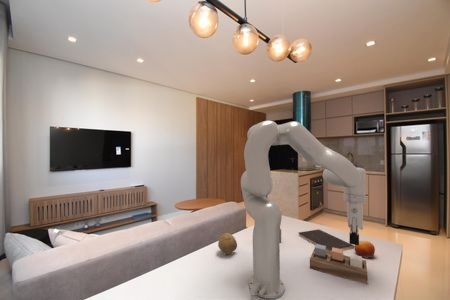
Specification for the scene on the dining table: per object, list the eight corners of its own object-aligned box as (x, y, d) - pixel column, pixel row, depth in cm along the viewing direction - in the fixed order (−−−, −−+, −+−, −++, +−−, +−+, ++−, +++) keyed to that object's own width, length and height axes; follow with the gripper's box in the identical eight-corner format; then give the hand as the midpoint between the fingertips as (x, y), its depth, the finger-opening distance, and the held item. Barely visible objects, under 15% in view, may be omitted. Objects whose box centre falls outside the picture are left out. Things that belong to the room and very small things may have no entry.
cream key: (362, 268, 78) (362, 260, 78) (350, 265, 80) (350, 258, 80) (361, 264, 82) (361, 256, 82) (350, 261, 84) (350, 253, 84)
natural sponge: (213, 253, 98) (213, 233, 98) (227, 247, 104) (227, 228, 104) (226, 261, 91) (226, 238, 91) (240, 254, 97) (240, 233, 97)
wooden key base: (367, 284, 74) (367, 274, 74) (309, 268, 85) (309, 259, 85) (366, 268, 84) (366, 260, 84) (314, 256, 95) (314, 248, 95)
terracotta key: (342, 261, 82) (342, 253, 82) (331, 258, 84) (331, 251, 84) (343, 256, 85) (343, 249, 85) (332, 254, 87) (332, 247, 87)
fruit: (370, 259, 88) (361, 240, 92) (356, 261, 95) (348, 243, 99) (383, 257, 90) (374, 238, 95) (369, 259, 97) (361, 241, 101)
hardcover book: (329, 254, 97) (329, 249, 97) (298, 236, 119) (298, 232, 119) (354, 249, 102) (354, 244, 102) (319, 232, 124) (319, 229, 124)
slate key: (325, 256, 85) (324, 249, 85) (314, 254, 87) (314, 247, 87) (326, 252, 89) (326, 246, 89) (316, 250, 91) (316, 243, 91)
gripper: (366, 202, 73) (366, 254, 73) (364, 196, 86) (364, 239, 85) (342, 199, 77) (342, 248, 77) (344, 194, 90) (344, 235, 89)
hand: (354, 243), depth 81 cm, fingers closed
